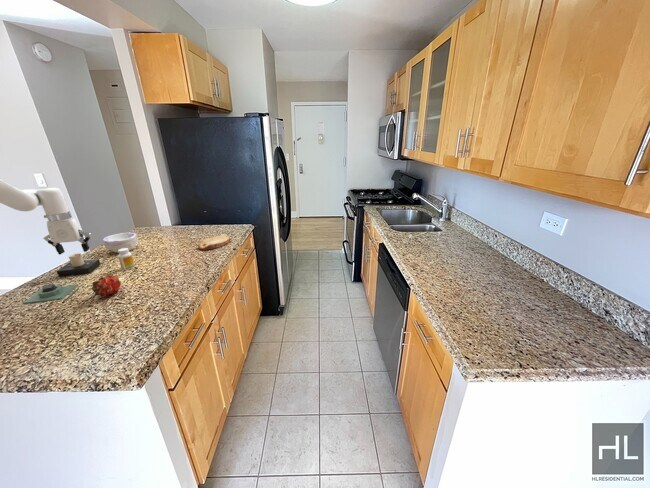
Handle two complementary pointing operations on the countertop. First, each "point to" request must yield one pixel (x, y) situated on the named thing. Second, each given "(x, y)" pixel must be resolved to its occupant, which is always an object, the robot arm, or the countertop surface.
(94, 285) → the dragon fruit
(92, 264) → the panel
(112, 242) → the paper bowls
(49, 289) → the button
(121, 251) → the supplement bottle
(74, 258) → the knob
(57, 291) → the button box
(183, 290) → the countertop surface
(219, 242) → the bread slice
